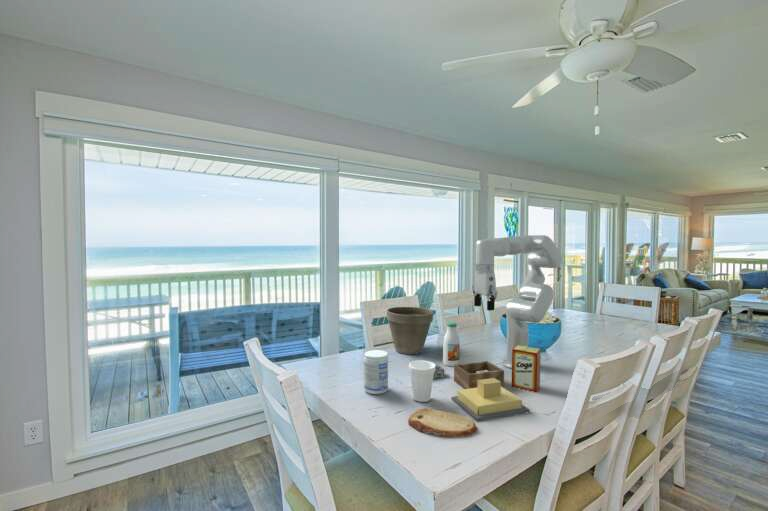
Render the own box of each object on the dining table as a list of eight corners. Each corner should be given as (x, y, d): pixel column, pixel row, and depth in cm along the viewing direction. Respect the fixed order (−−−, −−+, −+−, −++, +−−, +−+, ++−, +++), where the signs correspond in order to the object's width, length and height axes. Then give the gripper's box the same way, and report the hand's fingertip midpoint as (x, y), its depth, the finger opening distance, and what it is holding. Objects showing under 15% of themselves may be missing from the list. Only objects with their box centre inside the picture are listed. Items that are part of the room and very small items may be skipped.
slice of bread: (482, 431, 114) (482, 420, 114) (437, 448, 104) (437, 435, 104) (444, 408, 129) (445, 398, 129) (402, 421, 120) (402, 410, 120)
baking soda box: (539, 386, 148) (540, 348, 147) (536, 392, 142) (537, 352, 142) (515, 381, 153) (516, 344, 152) (511, 386, 148) (512, 348, 147)
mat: (499, 392, 142) (499, 389, 142) (529, 412, 126) (529, 409, 126) (451, 399, 136) (451, 396, 135) (476, 421, 119) (476, 418, 119)
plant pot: (434, 345, 204) (435, 307, 204) (430, 359, 180) (430, 316, 180) (391, 342, 210) (391, 305, 209) (381, 355, 186) (381, 313, 185)
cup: (428, 407, 129) (428, 371, 128) (403, 401, 134) (403, 366, 133) (439, 397, 137) (440, 363, 137) (416, 391, 143) (416, 358, 142)
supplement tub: (383, 396, 138) (383, 358, 137) (360, 393, 140) (360, 355, 140) (390, 386, 147) (391, 351, 146) (368, 383, 150) (369, 348, 149)
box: (486, 376, 158) (486, 361, 158) (503, 387, 147) (504, 370, 146) (453, 381, 153) (454, 364, 153) (468, 392, 142) (469, 374, 141)
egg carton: (424, 380, 154) (424, 371, 154) (417, 374, 161) (417, 365, 161) (446, 377, 157) (446, 368, 157) (438, 371, 165) (438, 362, 164)
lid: (498, 392, 140) (498, 371, 139) (521, 407, 127) (522, 385, 127) (457, 398, 134) (457, 376, 134) (477, 415, 121) (478, 391, 121)
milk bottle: (441, 365, 172) (441, 323, 171) (444, 360, 179) (445, 320, 178) (457, 367, 169) (458, 325, 168) (460, 362, 176) (461, 321, 175)
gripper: (504, 269, 148) (503, 311, 149) (480, 266, 165) (480, 304, 165) (488, 270, 146) (488, 312, 147) (466, 267, 162) (465, 305, 163)
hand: (483, 308), depth 156 cm, fingers open, 9 cm apart
